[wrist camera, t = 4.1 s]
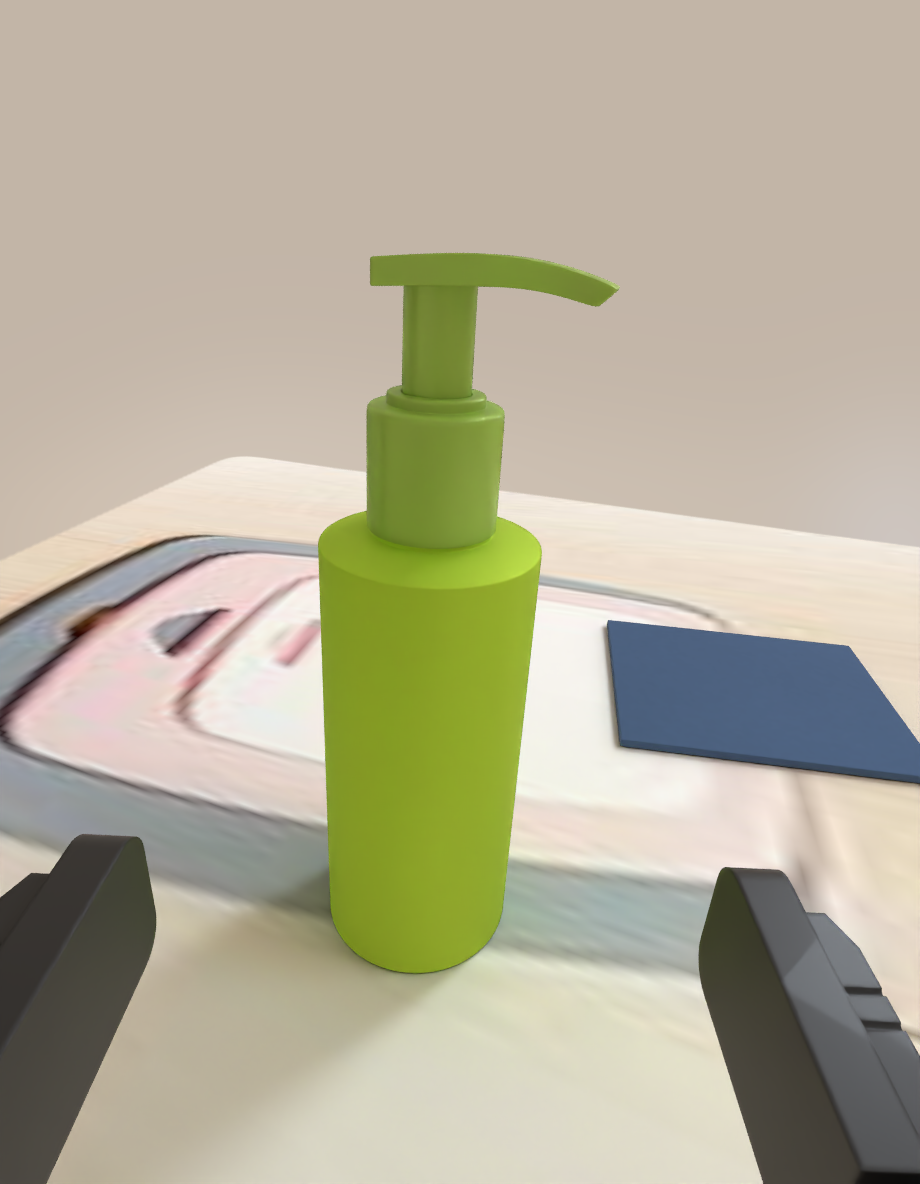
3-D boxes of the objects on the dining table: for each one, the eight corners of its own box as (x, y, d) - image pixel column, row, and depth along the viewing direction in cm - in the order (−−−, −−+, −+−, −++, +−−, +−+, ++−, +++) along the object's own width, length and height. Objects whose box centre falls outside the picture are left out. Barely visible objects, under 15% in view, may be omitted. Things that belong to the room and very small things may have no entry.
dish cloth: (619, 746, 33) (621, 739, 33) (606, 625, 44) (607, 619, 43) (943, 786, 31) (946, 779, 31) (847, 651, 42) (848, 645, 42)
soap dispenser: (519, 1002, 21) (619, 261, 13) (301, 949, 22) (258, 239, 14) (542, 857, 26) (624, 262, 18) (365, 820, 28) (362, 246, 19)
